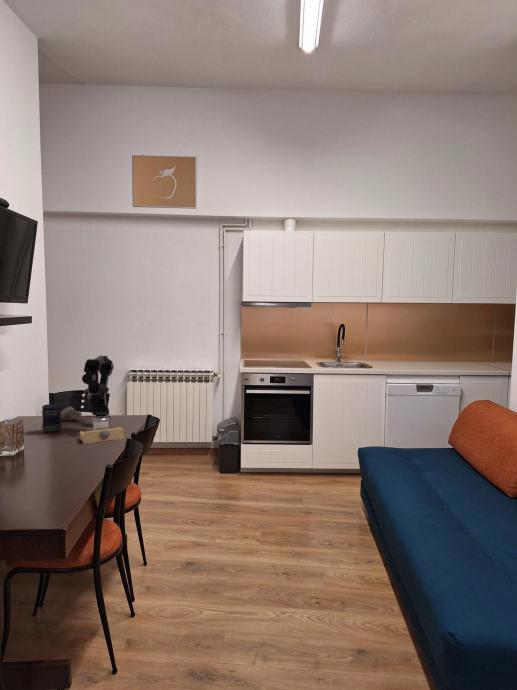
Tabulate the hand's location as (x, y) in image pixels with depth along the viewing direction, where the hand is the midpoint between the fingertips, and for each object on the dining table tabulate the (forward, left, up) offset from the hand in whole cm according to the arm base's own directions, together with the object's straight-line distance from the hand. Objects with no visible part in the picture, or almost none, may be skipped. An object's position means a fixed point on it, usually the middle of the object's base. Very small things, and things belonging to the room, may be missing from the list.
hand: (93, 408), depth 276 cm
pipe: (-34, -9, -13) cm, 38 cm away
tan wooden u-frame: (+20, 0, -13) cm, 24 cm away
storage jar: (-8, -21, -13) cm, 26 cm away
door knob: (+16, 0, -13) cm, 21 cm away
